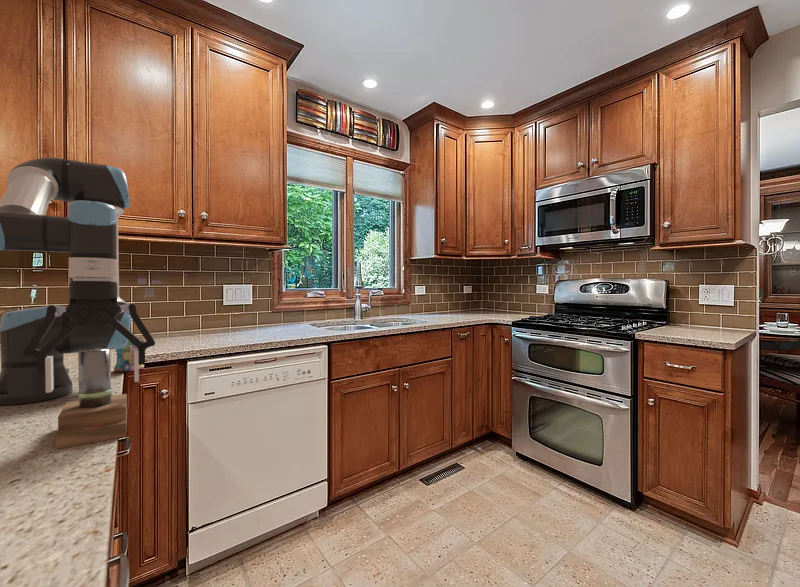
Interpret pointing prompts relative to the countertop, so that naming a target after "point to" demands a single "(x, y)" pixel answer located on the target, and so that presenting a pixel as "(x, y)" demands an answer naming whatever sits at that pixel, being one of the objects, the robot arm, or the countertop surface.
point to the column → (94, 377)
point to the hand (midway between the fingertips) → (95, 385)
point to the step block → (91, 422)
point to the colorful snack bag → (126, 358)
